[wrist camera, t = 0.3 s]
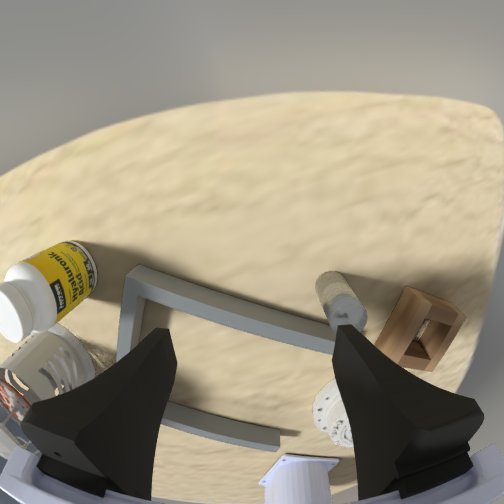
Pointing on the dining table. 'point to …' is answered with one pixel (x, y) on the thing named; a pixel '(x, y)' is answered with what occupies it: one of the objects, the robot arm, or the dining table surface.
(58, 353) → the french press
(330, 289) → the pin
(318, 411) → the mechanical component
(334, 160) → the dining table surface
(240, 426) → the grey u-shaped bracket
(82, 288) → the supplement bottle
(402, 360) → the hollow wooden square
